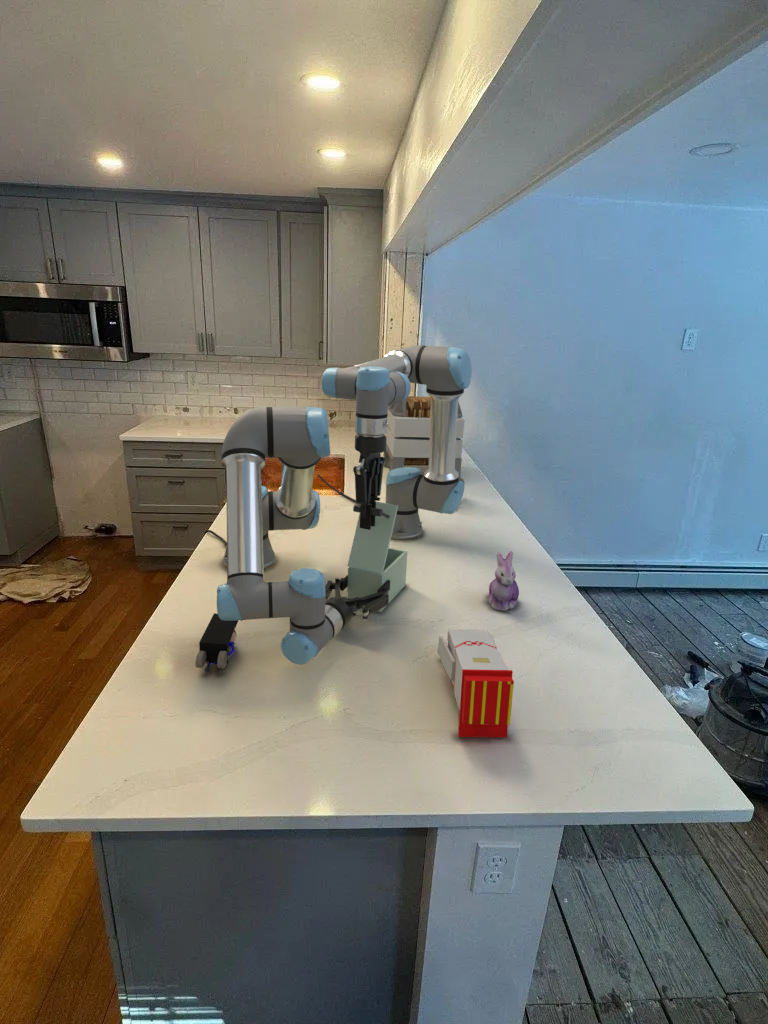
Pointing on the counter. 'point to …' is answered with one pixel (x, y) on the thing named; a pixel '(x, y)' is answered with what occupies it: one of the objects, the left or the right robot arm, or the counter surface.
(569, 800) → the counter surface
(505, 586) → the figurine
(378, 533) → the lid
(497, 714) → the toy
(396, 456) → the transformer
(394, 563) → the chest
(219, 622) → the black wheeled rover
